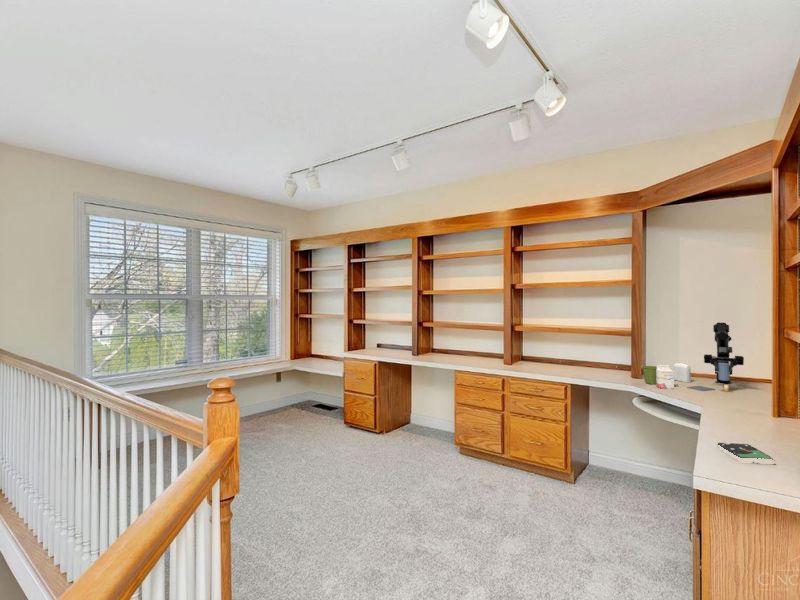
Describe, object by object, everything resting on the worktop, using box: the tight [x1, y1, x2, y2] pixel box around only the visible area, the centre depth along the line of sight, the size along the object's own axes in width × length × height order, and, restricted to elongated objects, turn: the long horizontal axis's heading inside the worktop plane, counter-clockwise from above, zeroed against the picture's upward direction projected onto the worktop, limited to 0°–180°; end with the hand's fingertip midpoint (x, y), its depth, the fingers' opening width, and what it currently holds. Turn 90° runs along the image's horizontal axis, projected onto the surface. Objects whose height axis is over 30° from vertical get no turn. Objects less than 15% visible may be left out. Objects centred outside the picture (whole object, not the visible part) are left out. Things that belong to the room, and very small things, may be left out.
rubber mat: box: [686, 385, 716, 392], centre depth 247 cm, size 10×10×2 cm
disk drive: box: [717, 442, 774, 460], centre depth 145 cm, size 10×3×15 cm
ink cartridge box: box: [656, 364, 675, 390], centre depth 256 cm, size 9×5×15 cm, turn 77°
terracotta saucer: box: [718, 384, 735, 394], centre depth 238 cm, size 7×7×5 cm
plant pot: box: [640, 365, 657, 385], centre depth 271 cm, size 12×12×11 cm
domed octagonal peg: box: [718, 362, 731, 381], centre depth 239 cm, size 5×5×10 cm
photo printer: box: [673, 362, 692, 383], centre depth 275 cm, size 10×4×12 cm, turn 17°
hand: (723, 370), depth 238 cm, fingers closed on domed octagonal peg, 5 cm apart
